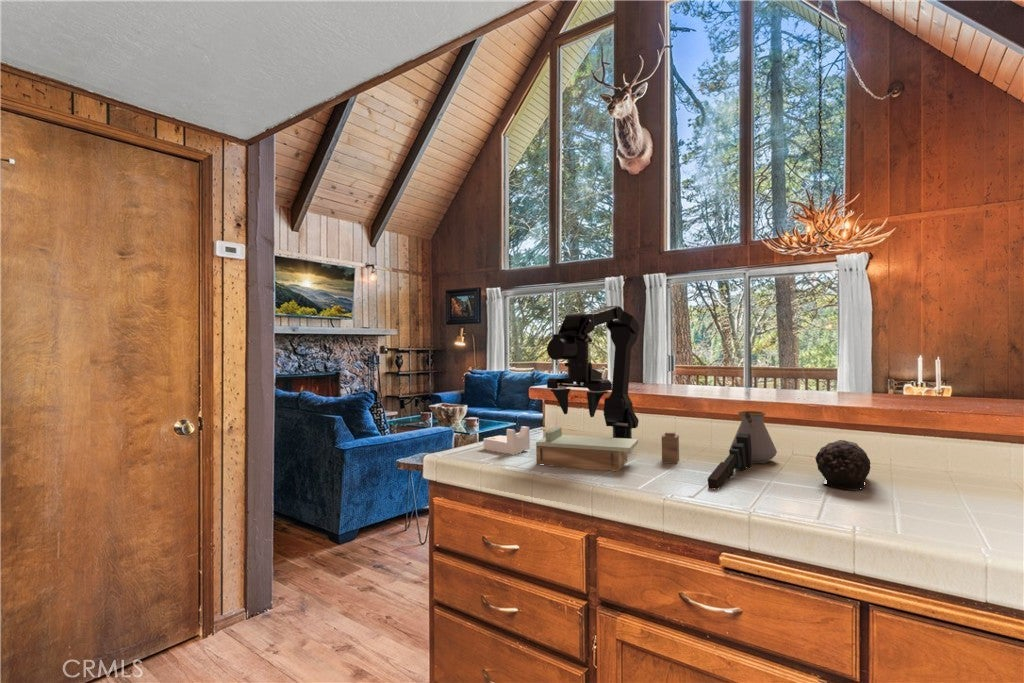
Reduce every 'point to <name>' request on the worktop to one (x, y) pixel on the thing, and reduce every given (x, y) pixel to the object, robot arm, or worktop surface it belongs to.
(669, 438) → the brown stepped square block
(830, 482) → the pine cone
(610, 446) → the lid
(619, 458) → the brown box
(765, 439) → the coffee pot
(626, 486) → the worktop surface
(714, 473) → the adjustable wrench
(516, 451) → the bracket
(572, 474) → the worktop surface
